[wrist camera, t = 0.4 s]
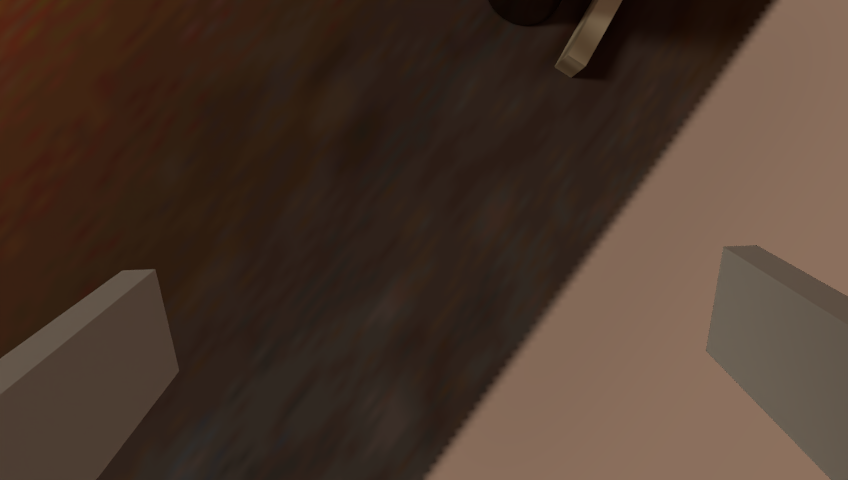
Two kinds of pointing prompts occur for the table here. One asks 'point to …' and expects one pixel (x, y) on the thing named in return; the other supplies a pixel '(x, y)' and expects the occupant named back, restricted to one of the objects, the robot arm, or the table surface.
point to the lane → (587, 36)
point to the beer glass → (525, 10)
